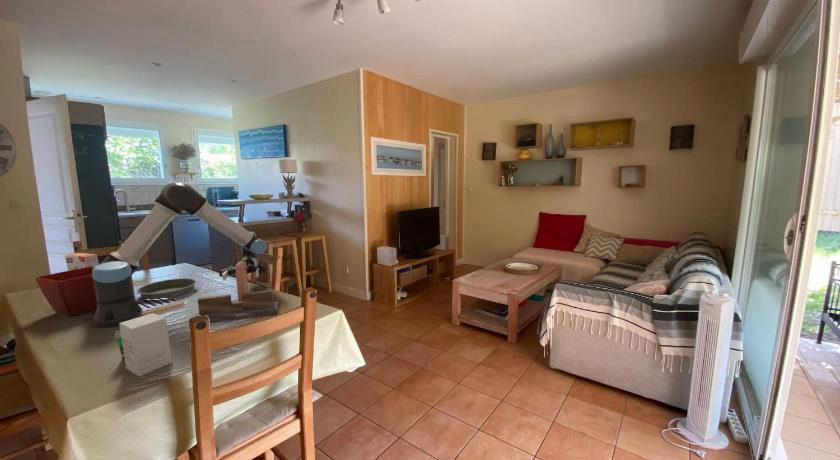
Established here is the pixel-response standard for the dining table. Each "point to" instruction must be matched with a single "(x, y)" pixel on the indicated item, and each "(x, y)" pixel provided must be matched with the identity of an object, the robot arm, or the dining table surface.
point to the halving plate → (241, 279)
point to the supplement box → (145, 344)
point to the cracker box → (81, 260)
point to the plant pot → (69, 291)
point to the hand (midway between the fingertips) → (240, 276)
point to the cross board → (243, 313)
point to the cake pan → (167, 288)
